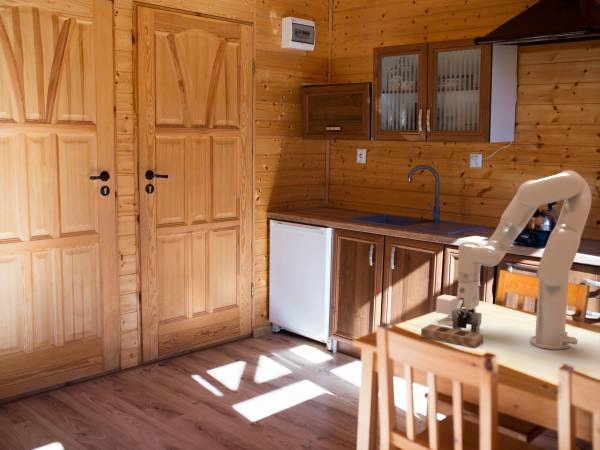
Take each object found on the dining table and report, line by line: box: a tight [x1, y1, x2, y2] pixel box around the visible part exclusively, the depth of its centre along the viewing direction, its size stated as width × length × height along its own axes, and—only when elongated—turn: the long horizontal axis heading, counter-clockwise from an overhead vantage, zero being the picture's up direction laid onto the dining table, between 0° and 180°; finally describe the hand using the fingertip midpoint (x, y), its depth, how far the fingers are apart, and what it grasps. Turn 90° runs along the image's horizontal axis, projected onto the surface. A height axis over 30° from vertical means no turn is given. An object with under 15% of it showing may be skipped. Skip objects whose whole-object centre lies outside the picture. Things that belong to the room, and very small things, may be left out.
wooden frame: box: [420, 323, 484, 349], centre depth 243 cm, size 20×8×3 cm, turn 54°
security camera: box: [435, 294, 457, 327], centre depth 263 cm, size 6×7×10 cm
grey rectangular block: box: [451, 309, 482, 333], centre depth 250 cm, size 10×3×8 cm, turn 54°
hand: (466, 324), depth 250 cm, fingers open, 6 cm apart
